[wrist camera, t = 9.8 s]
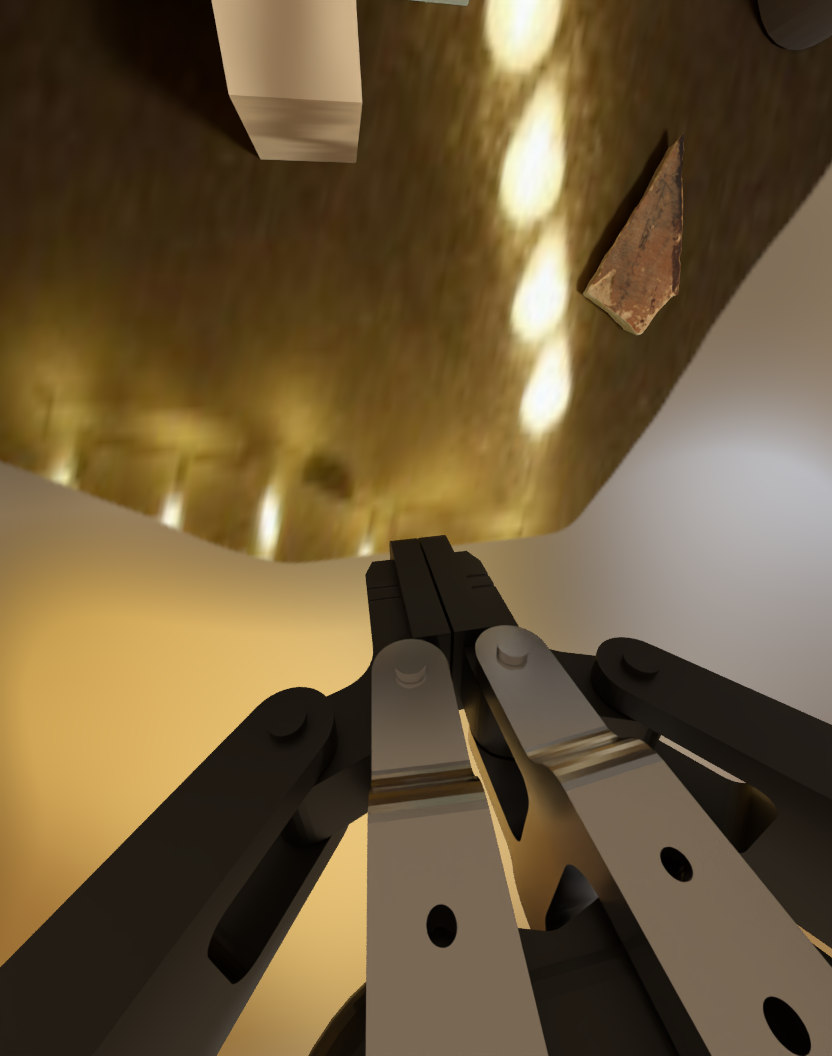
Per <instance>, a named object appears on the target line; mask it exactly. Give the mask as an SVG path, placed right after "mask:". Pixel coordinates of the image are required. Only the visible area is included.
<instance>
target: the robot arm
mask: <svg viewBox="0 0 832 1056" xmlns="http://www.w3.org/2000/svg"><path fill="white" fill-rule="evenodd" d="M758 6H759V11H760V15H761V20H762V22H763V24H764V27H765V29H766V31H767V33H768V35H769V36H770V37H771V38H772V39H773V40H774V41H775V43H776V44H778V45H780V46H782V47H784V48H786V49H790V50H802V49H805V48H809V47H812V46H814V45H816V44H818V43H819V42H821V41H823V40H825V39H826V38H828V37H830V36H832V0H758ZM366 585H367V594H368V604H369V613H370V623H371V633H372V641H373V658H372V661H371V663H370V666H369V667H368V669H367V671H366V672H365V673H364V674H363V675H362V677H360V678H359V679H358V680H357V681H356V682H354V683H353V684H351V685H349V686H348V687H346V688H344V689H342V690H340V691H338V692H335V693H333V694H331V695H329V696H327V697H326V696H325V695H324V694H322V693H321V692H319V691H317V690H315V689H312V688H307V687H296V688H290V689H286V690H283V691H280V692H278V693H276V694H274V695H272V696H270V697H269V698H267V699H266V700H264V701H263V702H262V703H261V704H260V705H259V706H257V707H256V709H254V711H252V713H251V714H250V715H249V716H248V717H247V718H246V719H245V720H244V721H243V722H242V723H241V724H240V725H239V726H238V727H237V728H236V729H235V730H234V731H233V732H232V733H231V734H230V735H229V736H228V737H227V738H226V739H225V740H224V741H223V742H222V743H221V744H220V745H219V746H218V747H217V748H216V749H215V750H214V751H213V752H212V753H211V754H210V755H209V756H208V757H207V758H206V759H205V760H204V761H203V762H202V763H201V764H200V765H199V766H198V767H197V768H196V769H195V770H194V771H193V772H192V774H190V775H189V776H188V778H187V779H186V780H185V781H184V782H183V783H182V784H181V785H180V786H179V787H178V788H177V789H176V790H175V791H174V792H173V793H172V794H171V795H170V796H169V797H168V798H167V799H166V800H165V801H164V802H163V803H162V804H161V805H160V806H159V807H158V808H157V809H156V810H155V811H154V812H153V813H152V814H151V815H150V816H149V817H148V818H147V819H146V820H145V821H144V822H143V823H142V824H141V825H140V826H139V827H138V828H137V829H136V830H135V831H134V832H133V833H132V834H131V835H130V836H129V837H128V838H127V839H126V840H125V841H124V843H123V844H121V846H120V847H119V848H118V849H117V850H116V851H115V852H114V853H113V854H112V855H111V856H110V857H109V858H108V859H107V860H106V861H105V862H104V863H103V864H102V865H101V866H100V867H99V868H98V869H97V870H96V871H95V872H94V873H93V874H92V875H91V876H90V877H89V878H88V879H87V880H86V881H85V882H84V883H83V884H82V885H81V886H80V887H79V888H78V889H77V890H76V891H75V892H74V893H73V894H72V895H71V896H70V897H69V898H68V899H67V900H66V902H64V904H62V905H61V906H60V907H59V908H58V910H56V912H54V914H53V915H52V916H51V917H50V918H49V919H48V920H47V921H46V922H45V923H44V924H43V925H42V926H41V927H40V928H39V929H38V930H37V931H36V932H35V933H34V934H33V935H32V936H31V937H30V938H29V939H28V940H27V941H26V942H25V943H24V944H23V945H22V946H21V947H20V948H19V949H18V950H17V951H16V952H15V953H14V954H13V955H12V956H11V957H10V958H9V959H8V960H7V961H6V962H5V963H4V964H3V965H2V966H1V967H0V1056H217V1054H218V1052H219V1050H220V1049H221V1047H222V1045H223V1043H224V1042H225V1040H226V1038H227V1036H228V1035H229V1033H230V1031H231V1030H232V1028H233V1026H234V1024H235V1023H236V1021H237V1019H238V1017H239V1016H240V1014H241V1012H242V1010H243V1009H244V1007H245V1005H246V1003H247V1002H248V1000H249V998H250V997H251V995H252V993H253V991H254V989H255V988H256V986H257V985H258V983H259V981H260V979H261V978H262V976H263V974H264V972H265V971H266V969H267V967H268V965H269V964H270V962H271V960H272V958H273V957H274V955H275V953H276V952H277V950H278V948H279V946H280V945H281V943H282V941H283V940H284V938H285V936H286V934H287V933H288V931H289V929H290V927H291V926H292V924H293V922H294V920H295V919H296V917H297V915H298V913H299V912H300V910H301V908H302V907H303V905H304V903H305V901H306V900H307V898H308V896H309V894H310V893H311V891H312V889H313V888H314V886H315V884H316V882H317V881H318V879H319V877H320V875H321V874H322V872H323V870H324V869H325V867H326V865H327V863H328V862H329V860H330V858H331V856H332V855H333V853H334V851H335V850H336V848H337V846H338V844H339V842H340V841H341V839H342V837H343V836H344V834H345V831H346V830H347V828H348V825H349V824H350V823H352V822H353V821H355V820H356V819H358V818H359V817H361V816H362V815H364V814H366V813H367V812H368V845H367V847H368V849H367V850H368V851H367V967H366V976H367V977H366V982H365V983H364V984H363V985H362V986H361V987H360V988H359V989H358V990H357V991H356V992H355V993H354V994H353V995H352V996H350V998H349V999H348V1000H347V1001H346V1002H345V1004H344V1005H343V1006H342V1007H341V1009H340V1010H339V1011H338V1012H337V1013H336V1015H335V1016H334V1017H333V1018H332V1019H331V1021H330V1022H329V1024H328V1026H327V1027H326V1029H325V1030H324V1032H323V1033H322V1035H321V1036H320V1038H319V1039H318V1041H317V1042H316V1044H315V1045H314V1047H313V1048H312V1050H311V1052H310V1054H309V1056H832V958H831V957H830V956H829V955H827V954H826V953H825V952H823V951H822V950H821V949H819V948H818V947H816V946H815V945H814V944H812V943H811V942H810V940H809V939H808V938H807V937H806V936H805V934H804V933H803V932H802V931H801V929H800V928H799V927H798V926H797V925H799V926H800V927H802V928H803V929H805V930H806V931H807V932H809V933H810V934H812V935H813V936H815V937H816V938H817V939H819V940H820V941H822V942H823V943H825V944H826V945H827V946H829V947H830V948H832V725H831V724H828V723H826V722H824V721H821V720H819V719H817V718H814V717H812V716H810V715H808V714H806V713H804V712H801V711H799V710H797V709H795V708H792V707H790V706H788V705H786V704H783V703H781V702H779V701H777V700H774V699H772V698H770V697H767V696H765V695H763V694H761V693H759V692H756V691H754V690H752V689H750V688H747V687H745V686H743V685H741V684H738V683H736V682H734V681H732V680H729V679H727V678H725V677H722V676H720V675H718V674H716V673H714V672H711V671H709V670H707V669H705V668H702V667H700V666H698V665H696V664H693V663H691V662H689V661H686V660H684V659H682V658H680V657H678V656H675V655H673V654H671V653H669V652H666V651H664V650H662V649H660V648H657V647H655V646H653V645H650V644H648V643H646V642H643V641H640V640H637V639H632V638H624V637H623V638H622V637H619V638H612V639H609V640H606V641H604V642H603V643H602V644H601V645H600V646H599V648H598V650H597V653H596V656H592V655H583V654H575V653H566V652H559V651H555V650H551V649H549V648H548V647H547V645H546V644H545V643H544V642H543V641H542V639H540V638H539V637H538V636H537V635H535V634H534V633H532V632H530V631H528V630H526V629H523V628H521V627H519V626H518V624H517V623H516V621H515V620H514V618H513V616H512V614H511V612H510V611H509V609H508V607H507V606H506V604H505V602H504V600H503V599H502V597H501V595H500V594H499V592H498V590H497V588H496V587H494V584H493V582H492V580H491V578H490V577H489V576H488V574H487V571H486V570H485V568H484V567H483V565H482V563H481V561H480V560H479V559H477V558H476V557H474V556H473V555H471V554H470V553H469V552H467V551H462V552H454V551H453V549H452V547H451V545H450V543H449V541H448V539H447V537H446V536H445V535H441V536H432V537H422V538H418V540H417V538H414V539H405V540H396V541H390V560H385V561H376V562H372V563H371V565H370V567H369V569H368V571H367V573H366ZM461 709H464V710H465V713H466V716H467V719H468V722H469V733H468V741H469V745H470V748H471V751H472V754H473V756H474V759H475V761H476V764H477V766H478V769H479V772H480V774H481V777H482V780H483V782H484V785H485V787H486V790H487V793H488V795H489V798H490V800H491V803H492V805H493V808H494V811H495V813H496V816H497V818H498V821H499V824H500V826H501V829H502V831H503V834H504V836H505V839H506V842H507V845H508V848H509V851H510V855H511V859H512V865H513V873H514V878H515V883H516V886H517V890H518V894H519V897H520V901H521V904H522V907H523V910H524V913H525V915H526V918H527V921H528V924H529V926H530V929H522V928H518V927H517V923H516V919H515V915H514V910H513V907H512V902H511V898H510V894H509V890H508V886H507V881H506V877H505V873H504V869H503V864H502V861H501V856H500V852H499V848H498V844H497V840H496V836H495V831H494V827H493V823H492V819H491V814H490V810H489V806H488V802H487V798H486V795H485V792H484V789H483V786H482V783H481V781H480V779H479V778H478V777H477V776H475V775H474V774H473V771H472V768H471V764H470V760H469V756H468V751H467V747H466V742H465V738H464V733H463V729H462V724H461V719H460V715H459V710H461ZM661 735H662V736H664V737H666V738H668V739H670V740H671V741H673V742H675V743H676V744H678V745H680V746H682V747H684V748H685V749H687V750H689V751H691V752H692V753H694V754H696V755H698V756H699V757H701V758H703V759H705V760H707V761H708V762H710V763H712V764H714V765H715V766H717V767H719V768H721V769H723V770H724V771H726V772H728V773H730V774H731V775H733V776H735V777H737V778H739V779H740V780H742V781H744V782H746V783H738V782H734V781H731V780H729V779H726V778H724V777H722V776H721V775H719V774H717V773H715V772H714V771H712V770H710V769H708V768H706V767H705V766H703V765H701V764H699V763H698V762H696V761H694V760H693V759H691V758H689V757H687V756H686V755H684V754H682V753H680V752H679V751H677V750H675V749H673V748H672V747H670V746H668V745H666V744H665V743H663V742H661V741H659V738H660V736H661Z"/></svg>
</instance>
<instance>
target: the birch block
mask: <svg viewBox="0 0 832 1056" xmlns="http://www.w3.org/2000/svg"><path fill="white" fill-rule="evenodd" d="M212 6H213V11H214V16H215V22H216V27H217V33H218V38H219V44H220V49H221V55H222V60H223V66H224V71H225V77H226V82H227V87H228V93H229V96H230V98H231V100H232V102H233V104H234V106H235V108H236V110H237V112H238V114H239V116H240V119H241V121H242V123H243V125H244V127H245V129H246V131H247V133H248V135H249V137H250V139H251V141H252V143H253V145H254V147H255V149H256V151H257V153H258V155H259V157H260V159H267V160H294V161H322V162H350V163H356V157H357V147H358V138H359V128H360V119H361V110H362V91H361V75H360V59H359V43H358V28H357V12H356V0H212Z"/></svg>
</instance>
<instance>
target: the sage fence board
mask: <svg viewBox="0 0 832 1056" xmlns="http://www.w3.org/2000/svg"><path fill="white" fill-rule="evenodd" d="M414 1H424V2H434V3H444V4H454V5H464V6H467V5H468V3H469V0H414Z"/></svg>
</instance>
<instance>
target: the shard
mask: <svg viewBox="0 0 832 1056" xmlns="http://www.w3.org/2000/svg"><path fill="white" fill-rule="evenodd" d="M683 154H684V133H682V134H681V136H680V137H679V139H678V140H676V142H675V143H674V144H673V145H672V146H670V147H669V148H668V149H667V151H666V153H665V155H664V157H663V159H662V160H661V162H660V164H659V166H658V167H657V169H656V171H655V173H654V175H653V177H652V179H651V181H650V183H649V185H648V187H647V189H646V191H645V193H644V195H643V197H642V199H641V200H640V202H639V204H638V205H637V206H636V207H635V209H634V210H633V212H632V214H631V216H630V217H629V219H628V221H627V223H626V225H625V227H624V228H623V229H622V231H621V232H620V233H619V235H618V237H617V239H616V240H615V243H614V244H613V246H612V247H611V248H610V250H609V251H608V252H607V253H606V255H605V256H604V258H603V260H602V262H601V264H600V265H599V267H598V269H597V272H596V273H595V274H594V276H593V277H592V278H591V280H590V281H589V283H588V285H587V288H586V289H585V291H584V293H583V296H585V297H586V298H588V299H590V300H591V301H592V302H593V303H595V304H596V305H597V306H599V307H600V308H601V309H603V310H604V311H606V312H607V313H608V314H609V315H610V316H611V317H612V318H613V319H614V320H615V321H616V323H618V324H619V325H621V327H622V328H623V329H624V330H626V331H628V332H631V333H633V334H635V335H640V334H642V333H643V332H644V330H645V329H646V328H647V326H648V325H649V323H650V322H651V321H652V319H653V318H654V316H655V315H656V313H657V312H658V311H659V310H660V308H661V307H662V306H663V305H665V303H666V302H667V301H668V300H669V299H670V298H671V297H672V296H675V295H677V294H678V290H679V283H680V280H679V276H680V260H679V258H680V254H681V245H682V228H683V219H682V216H683V190H682V189H683V185H682V166H683V161H682V159H683Z"/></svg>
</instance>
